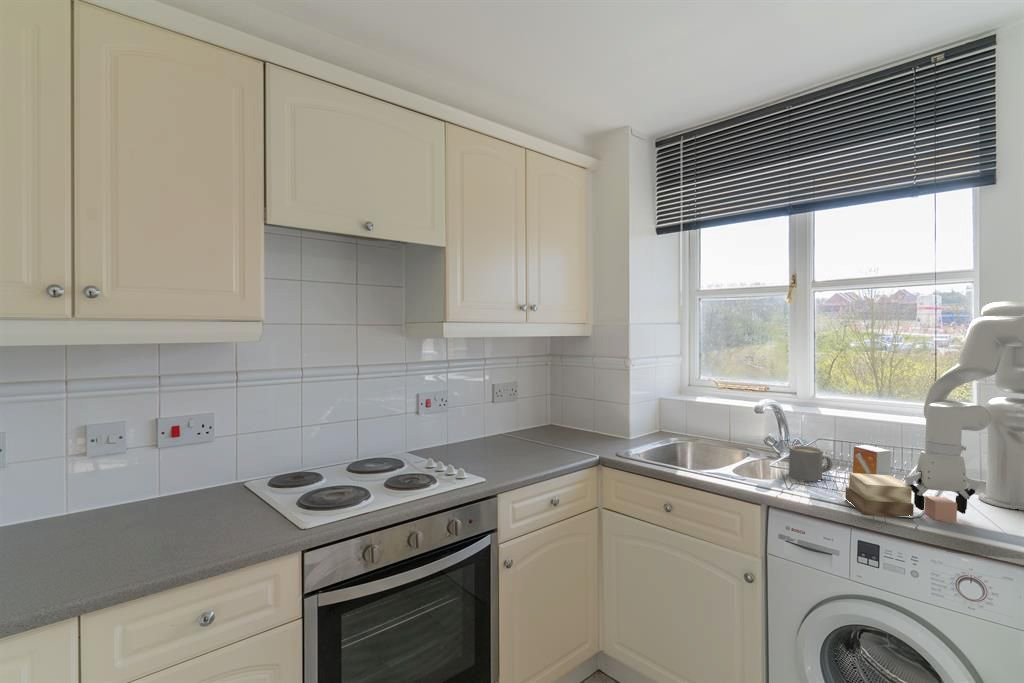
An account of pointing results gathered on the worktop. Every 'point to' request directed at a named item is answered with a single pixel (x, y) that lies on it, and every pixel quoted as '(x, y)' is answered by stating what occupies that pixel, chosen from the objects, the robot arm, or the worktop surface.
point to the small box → (871, 460)
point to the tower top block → (880, 488)
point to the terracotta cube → (941, 508)
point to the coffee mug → (807, 463)
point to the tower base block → (879, 506)
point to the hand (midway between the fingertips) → (939, 510)
